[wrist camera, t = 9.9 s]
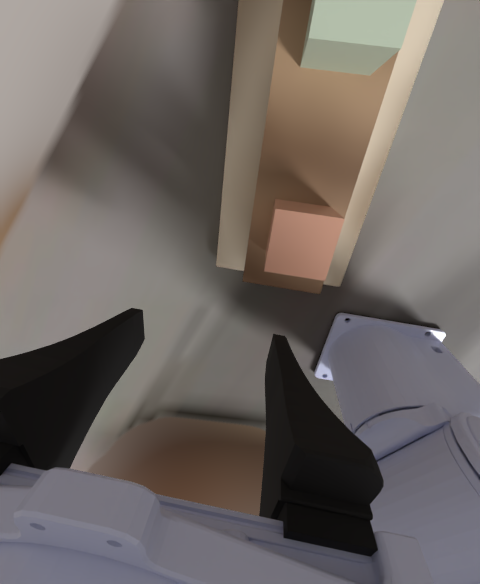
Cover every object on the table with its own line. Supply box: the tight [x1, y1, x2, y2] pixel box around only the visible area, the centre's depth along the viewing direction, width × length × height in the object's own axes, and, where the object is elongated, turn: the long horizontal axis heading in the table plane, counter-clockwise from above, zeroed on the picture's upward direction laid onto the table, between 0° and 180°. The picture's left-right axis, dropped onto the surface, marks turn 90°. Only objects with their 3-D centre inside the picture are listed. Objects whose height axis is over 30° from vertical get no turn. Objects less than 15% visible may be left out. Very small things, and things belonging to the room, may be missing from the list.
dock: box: [216, 0, 444, 287], centre depth 16 cm, size 10×18×2 cm, turn 173°
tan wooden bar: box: [243, 0, 399, 294], centre depth 14 cm, size 16×5×4 cm, turn 173°
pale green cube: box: [300, 0, 417, 76], centre depth 9 cm, size 3×3×3 cm
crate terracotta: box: [264, 199, 345, 281], centre depth 13 cm, size 3×3×3 cm
